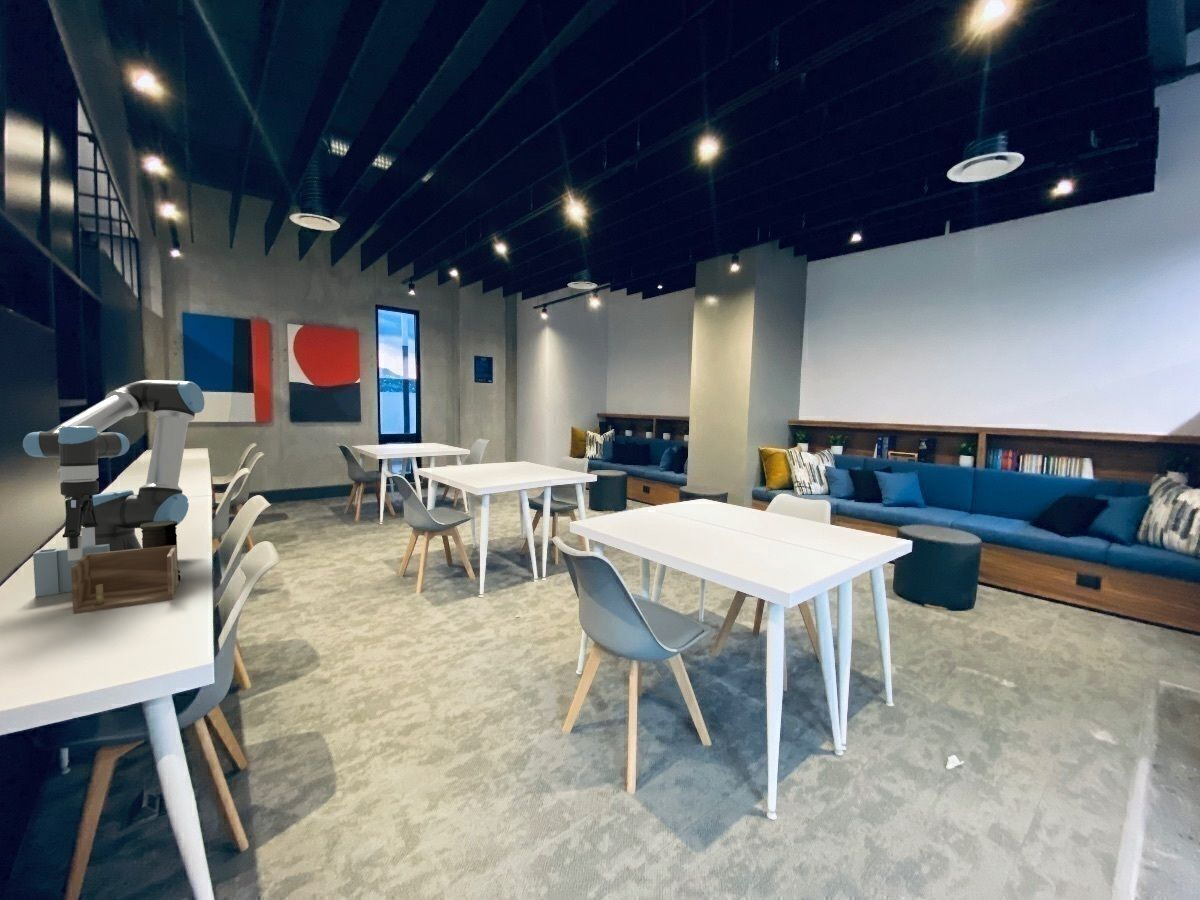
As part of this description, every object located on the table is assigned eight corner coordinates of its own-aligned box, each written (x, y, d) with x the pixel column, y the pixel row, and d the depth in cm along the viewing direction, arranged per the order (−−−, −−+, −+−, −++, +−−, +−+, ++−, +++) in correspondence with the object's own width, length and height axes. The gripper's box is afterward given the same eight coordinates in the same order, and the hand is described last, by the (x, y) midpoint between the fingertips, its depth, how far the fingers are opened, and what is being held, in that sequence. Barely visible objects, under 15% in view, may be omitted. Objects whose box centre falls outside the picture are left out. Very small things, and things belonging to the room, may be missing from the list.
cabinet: (88, 596, 137) (86, 553, 136) (178, 584, 148) (177, 544, 147) (73, 613, 126) (71, 567, 125) (172, 599, 136) (170, 556, 136)
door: (41, 592, 140) (38, 549, 139) (111, 583, 148) (110, 543, 147) (35, 597, 136) (32, 553, 135) (108, 587, 144) (106, 546, 144)
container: (135, 583, 148) (132, 524, 147) (172, 575, 156) (170, 518, 155) (149, 589, 144) (146, 527, 143) (186, 580, 152) (184, 522, 150)
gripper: (73, 477, 149) (76, 547, 150) (45, 485, 129) (48, 566, 130) (108, 475, 154) (110, 544, 155) (86, 484, 133) (88, 562, 134)
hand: (82, 554), depth 142 cm, fingers open, 13 cm apart
